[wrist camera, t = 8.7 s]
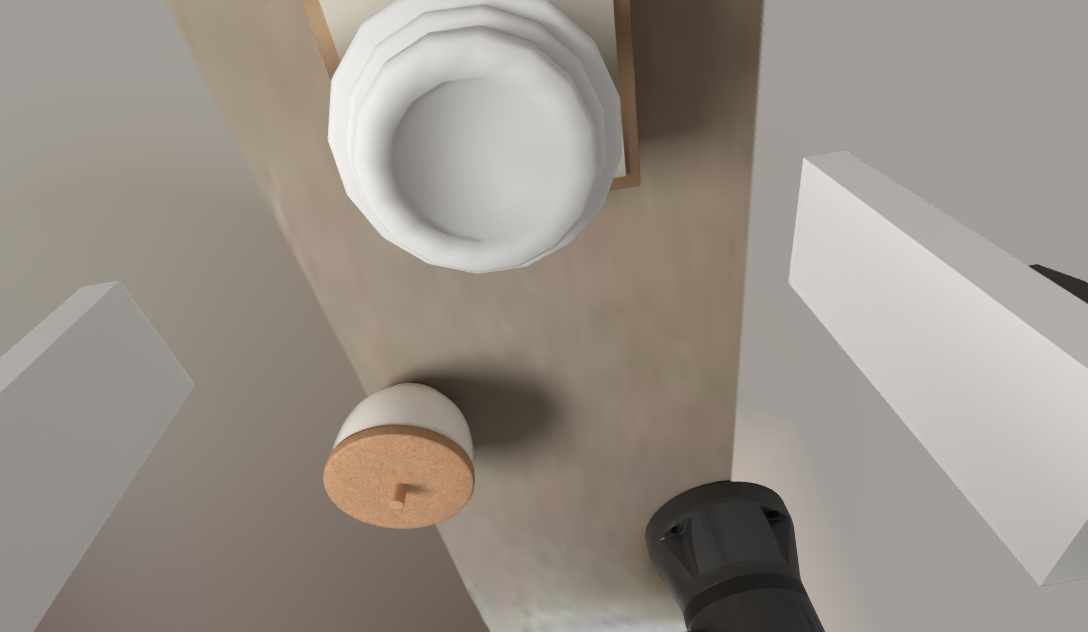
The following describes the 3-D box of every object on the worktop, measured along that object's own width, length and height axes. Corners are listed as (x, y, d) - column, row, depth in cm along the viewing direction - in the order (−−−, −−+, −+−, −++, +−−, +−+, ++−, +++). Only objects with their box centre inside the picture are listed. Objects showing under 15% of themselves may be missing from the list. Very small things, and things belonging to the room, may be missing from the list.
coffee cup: (372, -55, 22) (278, -35, 13) (594, -34, 23) (666, -1, 14) (390, 164, 28) (334, 298, 18) (570, 173, 28) (610, 304, 19)
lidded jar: (401, 467, 50) (384, 564, 43) (318, 396, 44) (281, 493, 37) (501, 421, 48) (502, 516, 40) (426, 339, 42) (411, 432, 34)
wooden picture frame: (619, 148, 34) (641, 187, 29) (401, 187, 35) (385, 233, 30) (597, -139, 26) (622, -154, 21) (311, -82, 27) (268, -83, 21)
